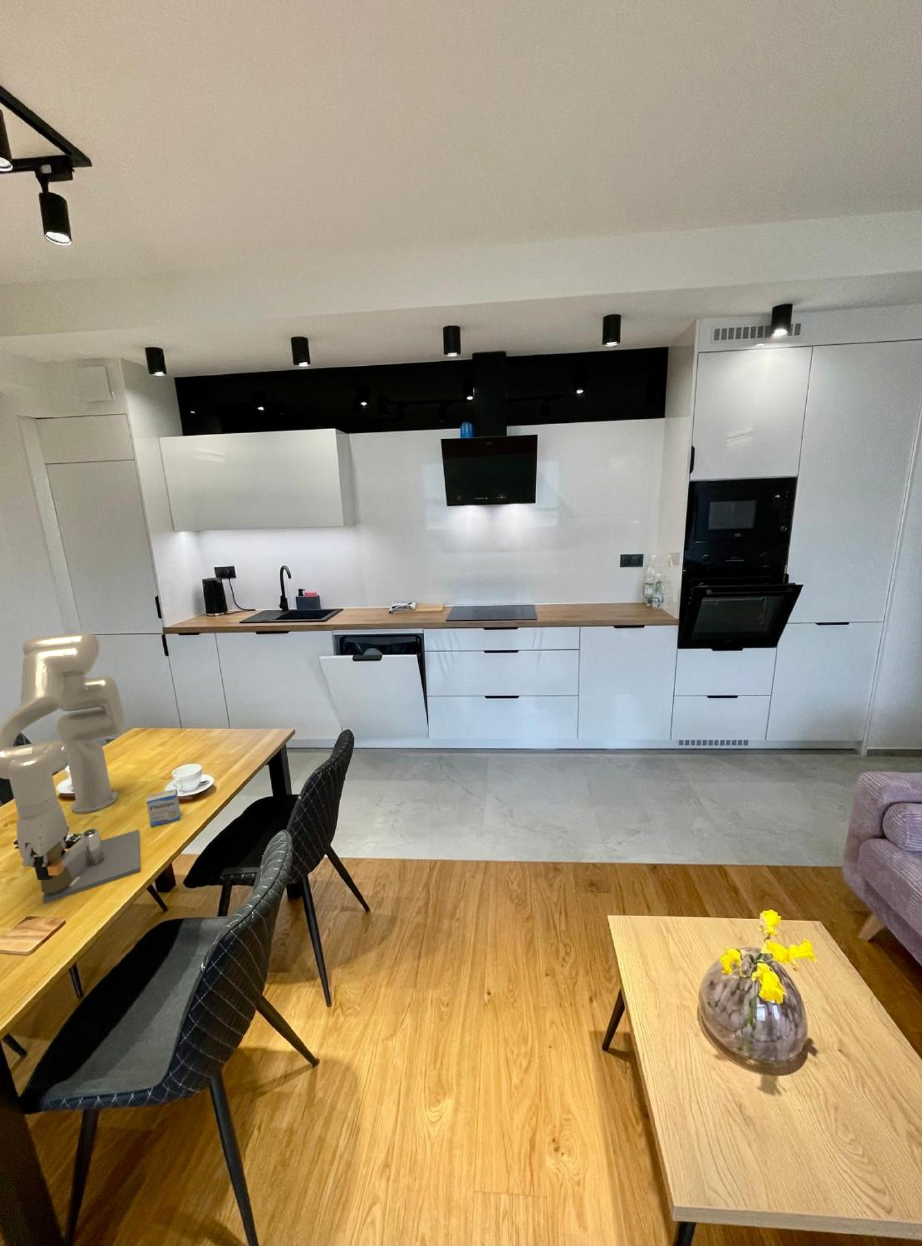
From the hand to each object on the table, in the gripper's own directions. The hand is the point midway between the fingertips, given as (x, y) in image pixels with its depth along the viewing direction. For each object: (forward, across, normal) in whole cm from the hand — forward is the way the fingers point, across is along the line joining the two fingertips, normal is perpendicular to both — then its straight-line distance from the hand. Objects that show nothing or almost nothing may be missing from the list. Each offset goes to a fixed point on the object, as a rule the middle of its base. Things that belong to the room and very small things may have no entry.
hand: (53, 871), depth 126 cm
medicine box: (+7, -29, +12) cm, 32 cm away
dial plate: (+6, -10, +3) cm, 12 cm away
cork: (+4, 0, 0) cm, 4 cm away
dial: (+5, -4, +3) cm, 7 cm away
